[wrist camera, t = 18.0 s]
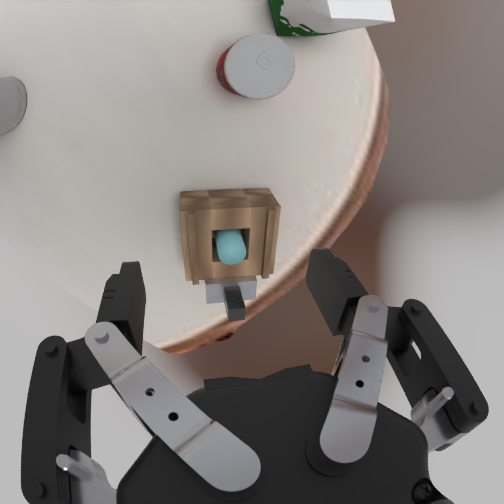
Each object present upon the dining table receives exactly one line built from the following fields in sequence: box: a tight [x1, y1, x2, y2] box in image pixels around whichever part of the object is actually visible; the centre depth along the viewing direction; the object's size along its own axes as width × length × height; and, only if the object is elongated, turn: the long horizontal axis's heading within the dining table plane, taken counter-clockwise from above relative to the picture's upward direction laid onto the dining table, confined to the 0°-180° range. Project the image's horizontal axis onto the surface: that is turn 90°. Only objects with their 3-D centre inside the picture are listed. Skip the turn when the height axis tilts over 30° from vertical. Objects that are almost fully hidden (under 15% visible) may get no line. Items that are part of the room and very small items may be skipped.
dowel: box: [214, 229, 246, 265], centre depth 45 cm, size 4×4×9 cm
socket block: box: [180, 188, 281, 285], centre depth 45 cm, size 14×12×8 cm
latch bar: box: [205, 276, 257, 321], centre depth 44 cm, size 8×4×6 cm, turn 87°
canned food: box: [216, 34, 295, 99], centre depth 30 cm, size 8×8×11 cm
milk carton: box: [268, 0, 395, 36], centre depth 22 cm, size 9×9×20 cm
